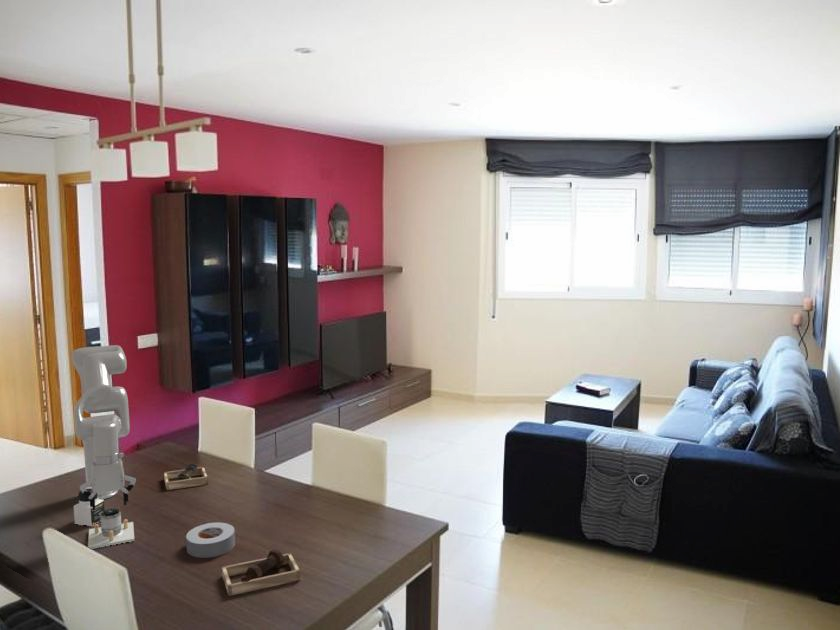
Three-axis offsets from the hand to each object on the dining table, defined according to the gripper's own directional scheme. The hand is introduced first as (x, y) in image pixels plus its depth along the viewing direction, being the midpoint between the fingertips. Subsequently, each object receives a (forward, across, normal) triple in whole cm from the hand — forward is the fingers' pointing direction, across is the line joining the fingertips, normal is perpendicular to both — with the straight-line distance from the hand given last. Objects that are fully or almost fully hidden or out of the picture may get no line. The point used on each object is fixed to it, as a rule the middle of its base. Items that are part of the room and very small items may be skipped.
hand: (109, 506), depth 224 cm
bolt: (+9, -41, +49) cm, 64 cm away
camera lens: (+10, 0, +1) cm, 10 cm away
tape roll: (+11, -30, +22) cm, 39 cm away
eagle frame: (+12, -28, -40) cm, 50 cm away
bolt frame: (+10, -41, +49) cm, 65 cm away
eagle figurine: (+12, -29, -41) cm, 51 cm away
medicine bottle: (+11, +7, -15) cm, 20 cm away
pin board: (+11, 0, +1) cm, 11 cm away
